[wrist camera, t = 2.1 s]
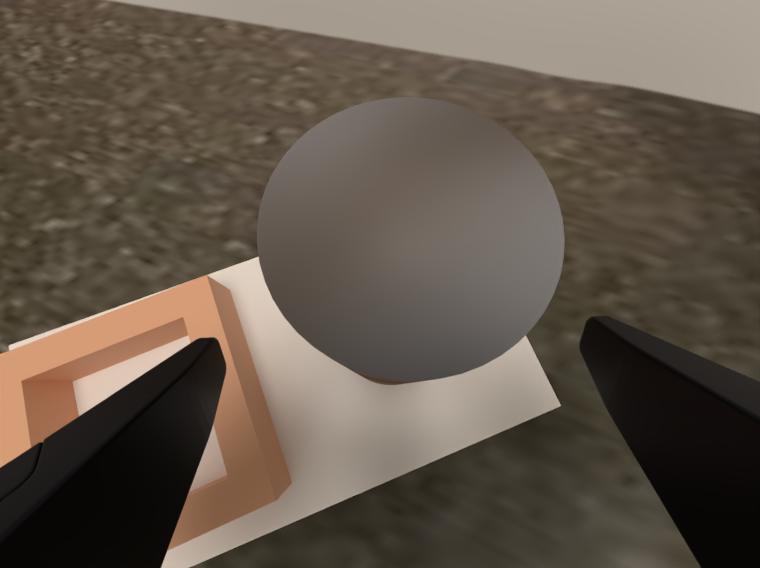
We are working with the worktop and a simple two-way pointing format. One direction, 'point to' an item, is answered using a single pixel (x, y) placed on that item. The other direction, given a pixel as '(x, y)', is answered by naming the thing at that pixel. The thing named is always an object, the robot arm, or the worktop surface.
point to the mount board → (334, 414)
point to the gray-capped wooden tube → (410, 239)
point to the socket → (129, 339)
